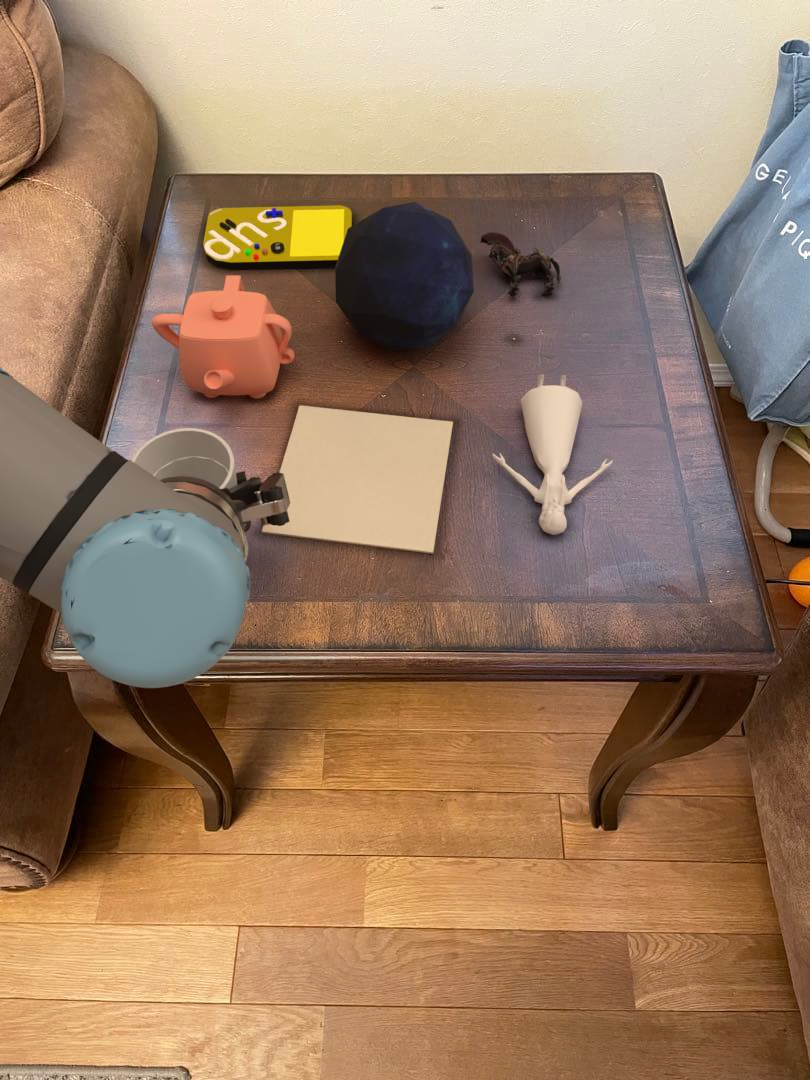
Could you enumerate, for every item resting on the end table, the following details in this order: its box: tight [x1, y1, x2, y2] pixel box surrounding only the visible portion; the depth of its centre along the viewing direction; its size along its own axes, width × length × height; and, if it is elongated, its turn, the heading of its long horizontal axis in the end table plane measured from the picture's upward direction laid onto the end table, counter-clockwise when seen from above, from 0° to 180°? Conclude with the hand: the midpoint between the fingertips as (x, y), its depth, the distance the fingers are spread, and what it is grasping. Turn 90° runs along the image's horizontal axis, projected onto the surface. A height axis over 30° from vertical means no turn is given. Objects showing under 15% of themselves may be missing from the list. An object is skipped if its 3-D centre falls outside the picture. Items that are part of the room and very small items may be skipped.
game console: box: [202, 204, 353, 271], centre depth 98 cm, size 18×11×2 cm, turn 93°
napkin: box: [261, 404, 454, 555], centre depth 78 cm, size 16×16×1 cm
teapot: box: [151, 274, 295, 399], centre depth 81 cm, size 12×12×10 cm
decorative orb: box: [334, 201, 475, 352], centre depth 84 cm, size 14×15×15 cm
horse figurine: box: [479, 231, 562, 341], centre depth 92 cm, size 9×4×15 cm
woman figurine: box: [491, 373, 614, 536], centre depth 77 cm, size 12×4×18 cm
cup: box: [130, 427, 249, 560], centre depth 66 cm, size 8×8×12 cm
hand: (197, 497), depth 69 cm, fingers closed on cup, 7 cm apart
